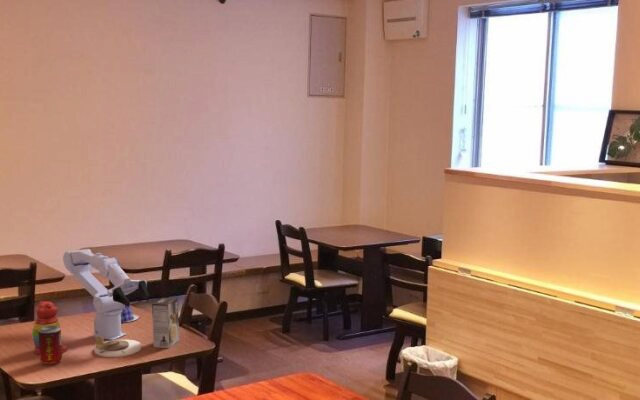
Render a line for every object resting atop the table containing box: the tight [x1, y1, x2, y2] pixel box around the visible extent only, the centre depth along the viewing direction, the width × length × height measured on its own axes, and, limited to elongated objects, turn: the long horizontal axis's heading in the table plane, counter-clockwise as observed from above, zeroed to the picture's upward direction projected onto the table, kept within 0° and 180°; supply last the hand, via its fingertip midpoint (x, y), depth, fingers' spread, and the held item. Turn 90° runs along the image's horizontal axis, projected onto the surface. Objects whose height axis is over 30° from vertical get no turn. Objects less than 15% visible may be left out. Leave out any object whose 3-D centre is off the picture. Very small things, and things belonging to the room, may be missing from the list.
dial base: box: [93, 339, 142, 358], centre depth 271 cm, size 16×16×1 cm
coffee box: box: [151, 297, 180, 349], centre depth 276 cm, size 9×6×16 cm
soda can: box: [38, 326, 63, 367], centre depth 256 cm, size 7×7×12 cm
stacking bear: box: [32, 300, 68, 356], centre depth 269 cm, size 11×10×18 cm
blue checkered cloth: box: [121, 306, 140, 324], centre depth 309 cm, size 12×12×5 cm
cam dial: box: [95, 336, 129, 351], centre depth 268 cm, size 13×9×5 cm
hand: (138, 301), depth 269 cm, fingers open, 7 cm apart
